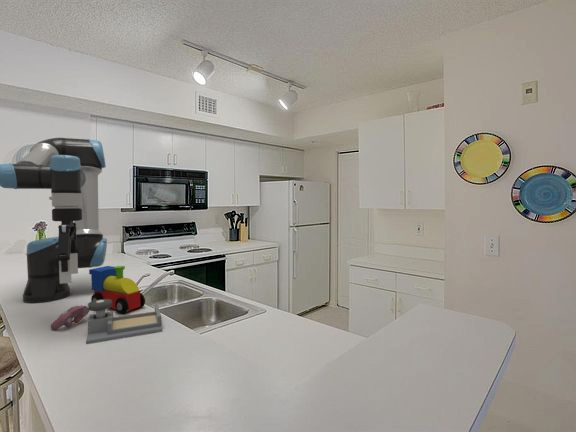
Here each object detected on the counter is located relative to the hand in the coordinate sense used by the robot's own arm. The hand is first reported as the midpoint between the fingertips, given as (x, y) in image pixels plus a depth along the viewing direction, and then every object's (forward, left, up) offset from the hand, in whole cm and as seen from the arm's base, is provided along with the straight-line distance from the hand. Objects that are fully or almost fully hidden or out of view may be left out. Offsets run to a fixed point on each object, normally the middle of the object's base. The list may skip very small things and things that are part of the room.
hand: (69, 278), depth 99 cm
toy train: (-13, +12, -15) cm, 23 cm away
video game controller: (-1, 0, -15) cm, 15 cm away
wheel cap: (+9, +8, -12) cm, 17 cm away
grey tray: (+9, +15, -15) cm, 23 cm away
